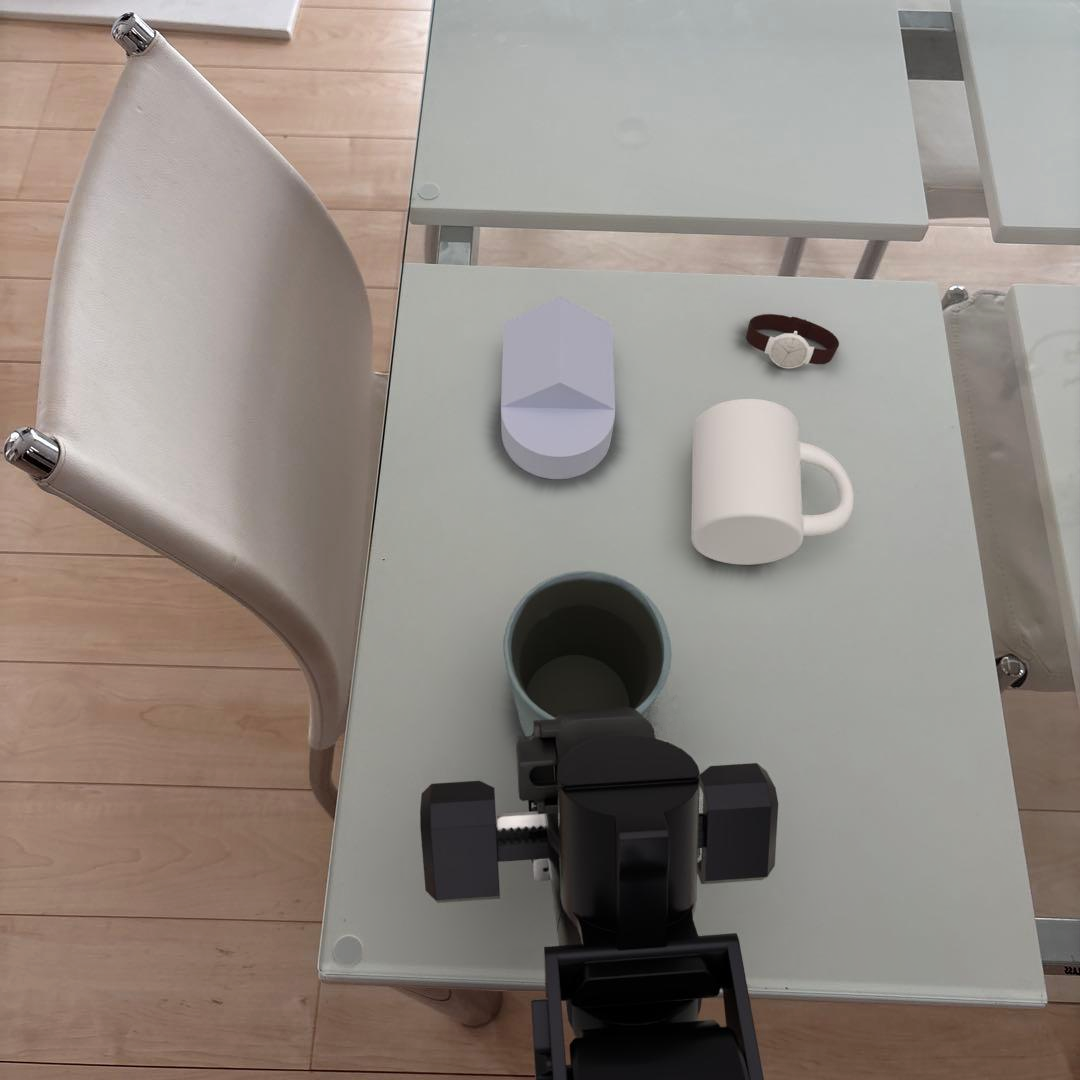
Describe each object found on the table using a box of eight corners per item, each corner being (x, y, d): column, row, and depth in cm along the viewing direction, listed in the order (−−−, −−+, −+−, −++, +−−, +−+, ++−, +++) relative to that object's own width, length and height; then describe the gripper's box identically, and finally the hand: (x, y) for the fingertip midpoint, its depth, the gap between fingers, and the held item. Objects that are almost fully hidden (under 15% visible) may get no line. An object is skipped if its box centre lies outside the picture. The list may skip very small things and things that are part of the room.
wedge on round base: (504, 348, 82) (499, 478, 76) (503, 294, 76) (498, 430, 70) (608, 350, 82) (612, 480, 76) (616, 296, 76) (621, 433, 70)
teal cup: (598, 807, 64) (615, 763, 54) (475, 726, 67) (468, 667, 56) (673, 687, 68) (702, 624, 58) (554, 614, 71) (562, 540, 60)
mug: (683, 560, 73) (701, 510, 66) (685, 451, 78) (702, 392, 70) (840, 574, 73) (875, 525, 66) (833, 464, 77) (865, 406, 70)
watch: (738, 358, 82) (747, 331, 79) (749, 318, 84) (758, 289, 81) (827, 381, 81) (840, 354, 78) (836, 340, 83) (848, 312, 80)
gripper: (827, 763, 42) (734, 623, 57) (403, 790, 41) (421, 641, 56) (811, 966, 46) (728, 785, 61) (421, 996, 45) (433, 804, 60)
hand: (581, 751), depth 59 cm, fingers closed, pressing on teal cup
